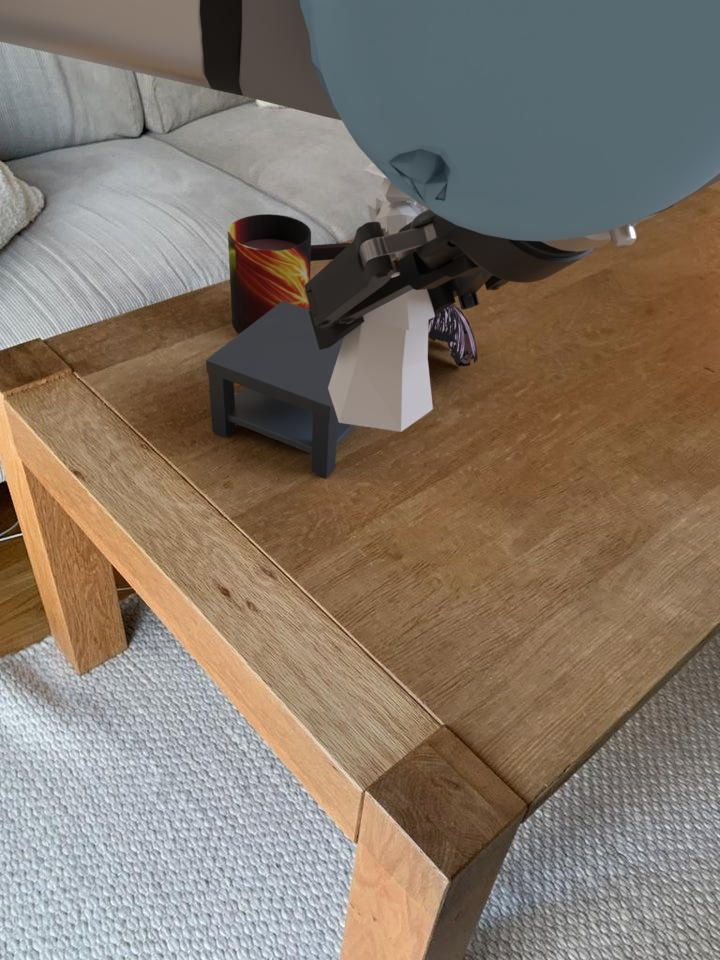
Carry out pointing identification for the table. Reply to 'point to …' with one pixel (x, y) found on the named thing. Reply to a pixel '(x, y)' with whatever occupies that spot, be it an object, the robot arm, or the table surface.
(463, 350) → the decorative flower
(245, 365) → the stand
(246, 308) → the mug
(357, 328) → the figurine
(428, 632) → the table surface
